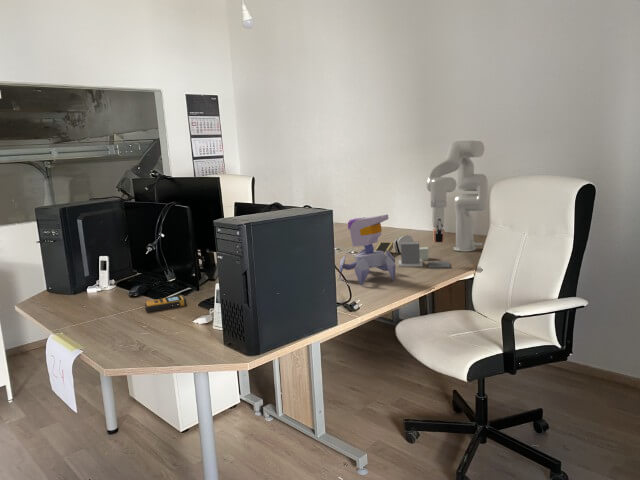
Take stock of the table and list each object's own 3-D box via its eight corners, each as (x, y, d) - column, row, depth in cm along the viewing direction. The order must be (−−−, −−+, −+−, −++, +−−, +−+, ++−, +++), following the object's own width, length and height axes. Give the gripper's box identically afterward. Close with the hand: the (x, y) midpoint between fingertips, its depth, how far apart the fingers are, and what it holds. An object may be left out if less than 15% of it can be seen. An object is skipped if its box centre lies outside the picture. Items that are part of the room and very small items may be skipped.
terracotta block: (443, 240, 245) (443, 228, 244) (444, 242, 240) (444, 230, 239) (433, 240, 246) (433, 229, 245) (433, 242, 241) (433, 230, 240)
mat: (448, 263, 249) (448, 261, 249) (450, 268, 240) (450, 266, 239) (428, 263, 251) (428, 261, 251) (429, 268, 241) (429, 266, 241)
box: (393, 249, 281) (393, 241, 280) (386, 265, 262) (385, 256, 260) (379, 249, 284) (379, 241, 283) (370, 265, 264) (370, 256, 263)
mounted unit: (421, 261, 255) (421, 240, 253) (422, 266, 246) (422, 244, 243) (398, 262, 257) (398, 241, 255) (398, 266, 247) (398, 245, 245)
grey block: (427, 258, 263) (427, 247, 262) (428, 260, 258) (428, 249, 257) (418, 258, 264) (418, 247, 263) (418, 260, 259) (418, 249, 258)
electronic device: (145, 308, 204) (144, 300, 203) (183, 301, 210) (182, 293, 209) (147, 313, 196) (146, 305, 195) (187, 306, 202) (186, 298, 202)
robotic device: (363, 269, 247) (361, 209, 242) (408, 275, 231) (407, 212, 226) (331, 281, 227) (328, 217, 222) (378, 289, 211) (376, 220, 206)
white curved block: (404, 254, 274) (398, 237, 274) (397, 256, 277) (391, 239, 278) (418, 248, 287) (412, 232, 287) (411, 250, 290) (406, 234, 290)
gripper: (429, 202, 248) (429, 237, 252) (431, 206, 232) (432, 244, 235) (444, 202, 247) (444, 237, 250) (448, 205, 231) (448, 243, 234)
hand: (438, 240), depth 243 cm, fingers closed on terracotta block, 5 cm apart
